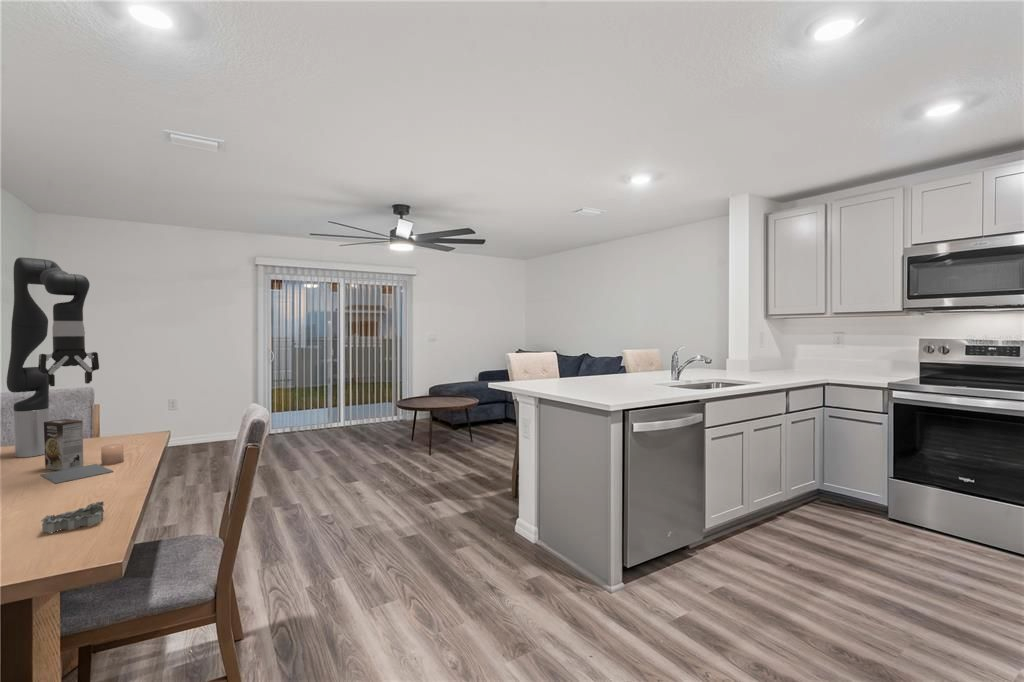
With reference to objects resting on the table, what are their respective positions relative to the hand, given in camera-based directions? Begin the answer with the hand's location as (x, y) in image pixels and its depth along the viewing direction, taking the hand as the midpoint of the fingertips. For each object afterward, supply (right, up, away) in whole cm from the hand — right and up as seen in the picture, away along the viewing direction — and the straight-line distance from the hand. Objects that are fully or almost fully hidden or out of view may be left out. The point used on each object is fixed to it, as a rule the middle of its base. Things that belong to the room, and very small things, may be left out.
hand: (70, 384), depth 151 cm
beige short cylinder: (+2, -29, +13) cm, 32 cm away
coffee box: (-10, -29, +8) cm, 32 cm away
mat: (+1, -29, +1) cm, 29 cm away
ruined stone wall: (+39, -31, -39) cm, 63 cm away
